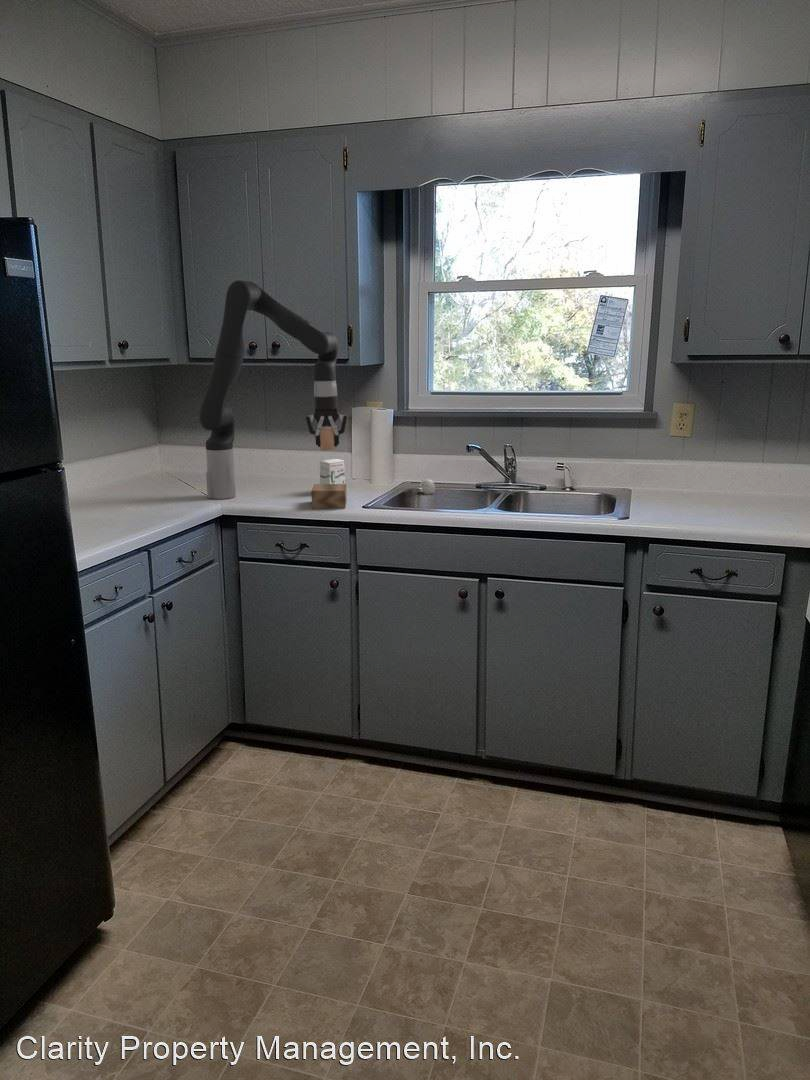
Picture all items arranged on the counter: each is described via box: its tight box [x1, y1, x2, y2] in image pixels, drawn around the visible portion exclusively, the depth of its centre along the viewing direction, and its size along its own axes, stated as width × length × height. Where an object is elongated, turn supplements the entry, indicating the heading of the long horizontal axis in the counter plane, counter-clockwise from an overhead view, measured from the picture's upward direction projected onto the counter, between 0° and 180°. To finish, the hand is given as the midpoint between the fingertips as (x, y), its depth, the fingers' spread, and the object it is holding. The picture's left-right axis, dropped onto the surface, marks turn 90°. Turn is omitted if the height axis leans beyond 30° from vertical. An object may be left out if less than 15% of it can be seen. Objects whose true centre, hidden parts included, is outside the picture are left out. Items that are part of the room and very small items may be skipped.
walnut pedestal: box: [310, 483, 348, 510], centre depth 269 cm, size 11×12×6 cm
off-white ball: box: [420, 477, 436, 495], centre depth 289 cm, size 5×5×5 cm
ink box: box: [319, 458, 346, 484], centre depth 289 cm, size 9×5×12 cm, turn 143°
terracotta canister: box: [319, 426, 336, 451], centre depth 264 cm, size 5×5×7 cm
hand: (327, 446), depth 265 cm, fingers closed on terracotta canister, 5 cm apart
